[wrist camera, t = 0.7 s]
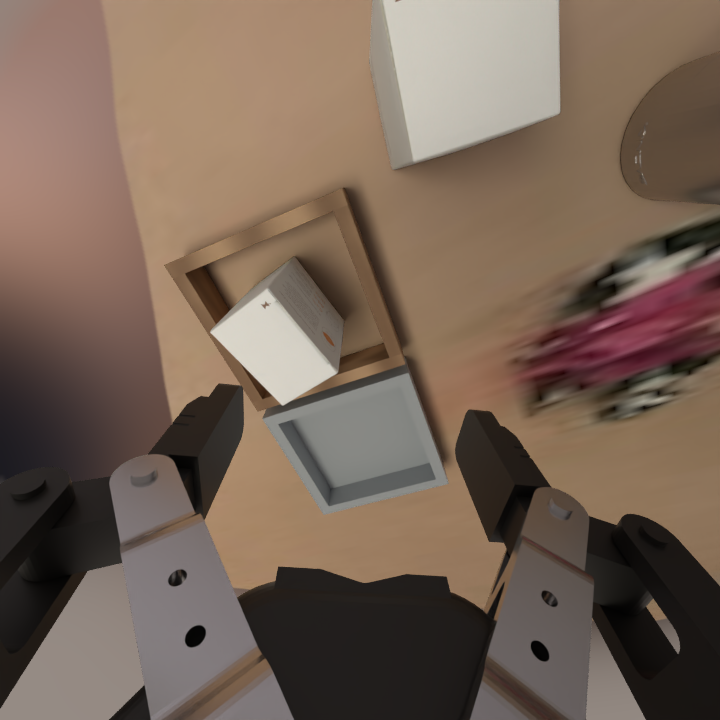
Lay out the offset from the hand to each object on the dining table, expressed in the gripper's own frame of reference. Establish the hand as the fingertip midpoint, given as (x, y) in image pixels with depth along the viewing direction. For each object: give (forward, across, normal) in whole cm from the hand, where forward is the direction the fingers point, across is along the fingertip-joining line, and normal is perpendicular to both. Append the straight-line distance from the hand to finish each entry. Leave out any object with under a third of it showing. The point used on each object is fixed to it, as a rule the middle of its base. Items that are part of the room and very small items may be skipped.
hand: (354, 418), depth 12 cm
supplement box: (+22, -4, -14) cm, 26 cm away
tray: (+23, -3, +18) cm, 29 cm away
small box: (+23, +5, +3) cm, 23 cm away
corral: (+22, +5, +3) cm, 23 cm away
